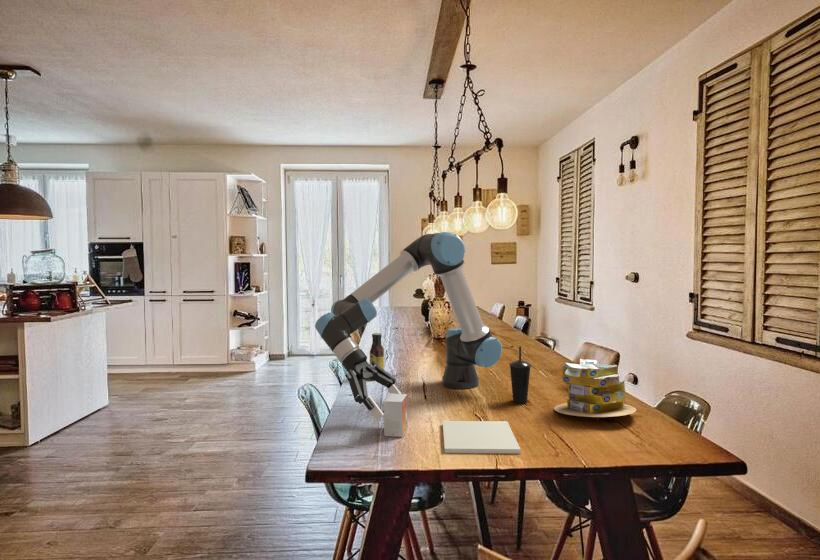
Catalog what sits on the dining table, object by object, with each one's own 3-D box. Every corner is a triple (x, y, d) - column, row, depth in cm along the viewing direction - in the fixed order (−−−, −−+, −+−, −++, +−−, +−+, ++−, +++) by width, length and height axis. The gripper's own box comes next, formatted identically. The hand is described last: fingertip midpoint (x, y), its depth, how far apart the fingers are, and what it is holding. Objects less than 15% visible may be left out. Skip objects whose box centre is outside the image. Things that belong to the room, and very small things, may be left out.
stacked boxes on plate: (540, 405, 155) (540, 358, 155) (602, 399, 161) (602, 353, 160) (583, 432, 132) (583, 376, 131) (654, 423, 137) (655, 370, 136)
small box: (402, 437, 129) (402, 402, 128) (383, 436, 130) (383, 401, 129) (408, 427, 137) (407, 393, 136) (390, 426, 138) (390, 392, 137)
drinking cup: (532, 399, 161) (532, 345, 160) (529, 406, 154) (529, 349, 153) (511, 397, 164) (511, 343, 163) (507, 403, 158) (507, 347, 157)
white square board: (442, 424, 138) (442, 421, 138) (507, 425, 137) (507, 421, 137) (444, 452, 118) (444, 448, 118) (520, 453, 117) (520, 449, 117)
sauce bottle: (370, 377, 195) (369, 332, 194) (384, 376, 195) (383, 331, 194) (369, 381, 188) (369, 334, 187) (384, 380, 189) (384, 334, 188)
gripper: (365, 355, 151) (404, 405, 145) (318, 372, 129) (361, 431, 123) (378, 341, 149) (419, 391, 142) (332, 355, 127) (377, 416, 120)
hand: (392, 410), depth 133 cm, fingers open, 13 cm apart
